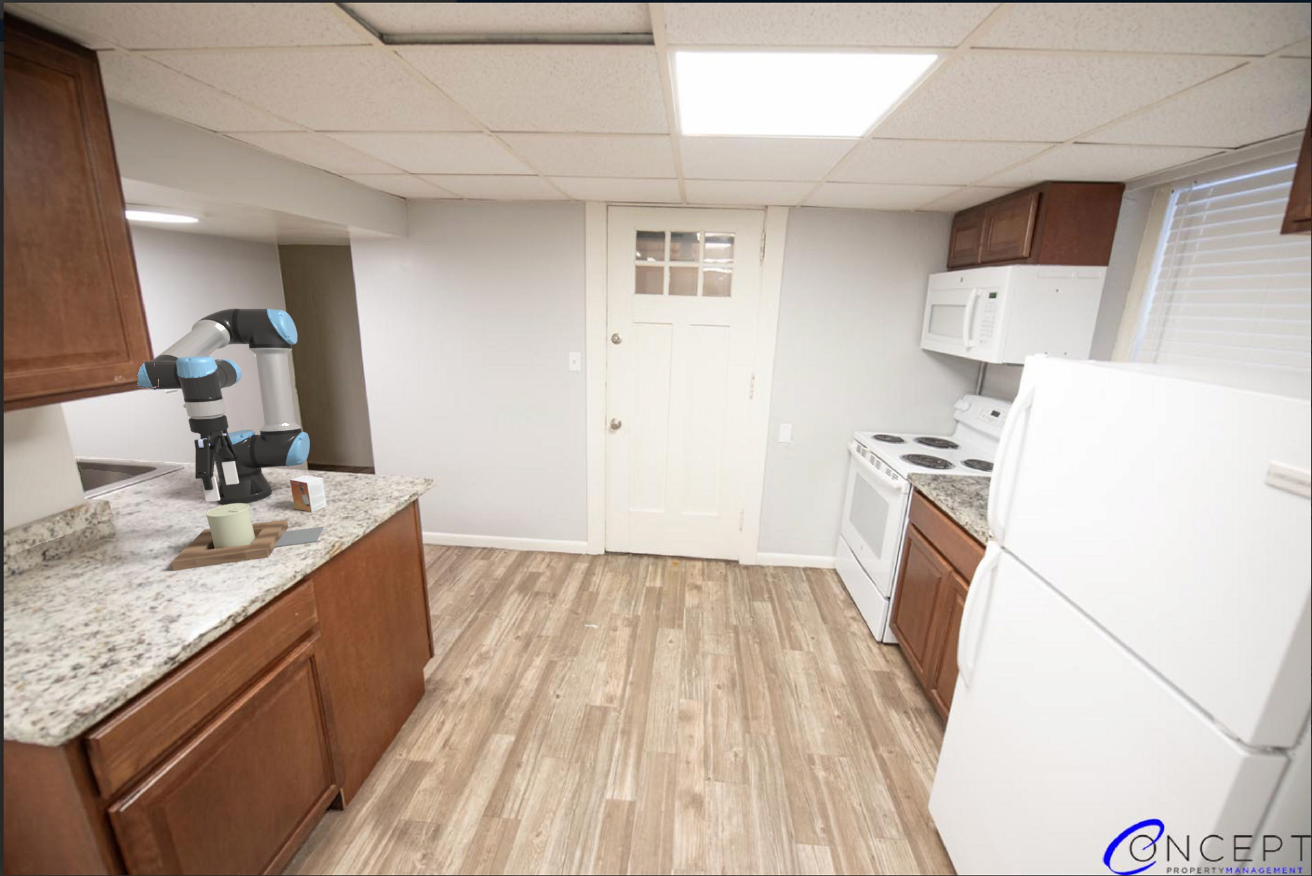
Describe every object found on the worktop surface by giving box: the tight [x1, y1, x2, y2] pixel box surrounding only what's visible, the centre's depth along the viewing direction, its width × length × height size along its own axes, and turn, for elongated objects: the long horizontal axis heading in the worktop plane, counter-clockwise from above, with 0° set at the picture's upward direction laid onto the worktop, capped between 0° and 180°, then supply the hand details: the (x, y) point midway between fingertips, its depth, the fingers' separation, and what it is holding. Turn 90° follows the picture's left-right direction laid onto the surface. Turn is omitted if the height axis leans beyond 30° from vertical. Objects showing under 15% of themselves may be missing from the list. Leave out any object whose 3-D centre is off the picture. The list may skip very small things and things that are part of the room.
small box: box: [289, 474, 328, 513], centre depth 165 cm, size 8×6×10 cm
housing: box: [171, 519, 289, 572], centre depth 139 cm, size 20×20×2 cm
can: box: [205, 503, 256, 549], centre depth 138 cm, size 9×9×12 cm
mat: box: [275, 526, 325, 548], centre depth 146 cm, size 10×10×1 cm
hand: (223, 491), depth 135 cm, fingers open, 13 cm apart
